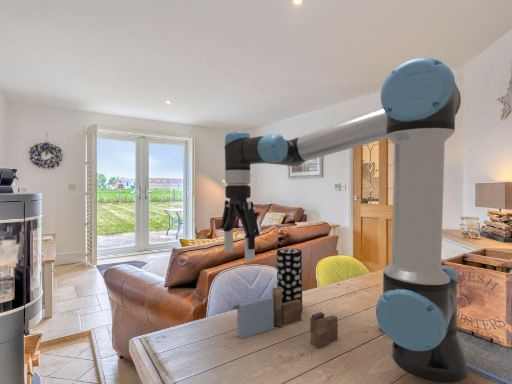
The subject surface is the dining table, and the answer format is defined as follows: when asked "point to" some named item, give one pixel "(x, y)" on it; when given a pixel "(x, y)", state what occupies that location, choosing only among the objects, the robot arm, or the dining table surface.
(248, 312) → the gate
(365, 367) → the dining table surface
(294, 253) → the white-spotted black cylinder
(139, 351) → the dining table surface
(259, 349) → the dining table surface
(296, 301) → the pair of brown blocks
